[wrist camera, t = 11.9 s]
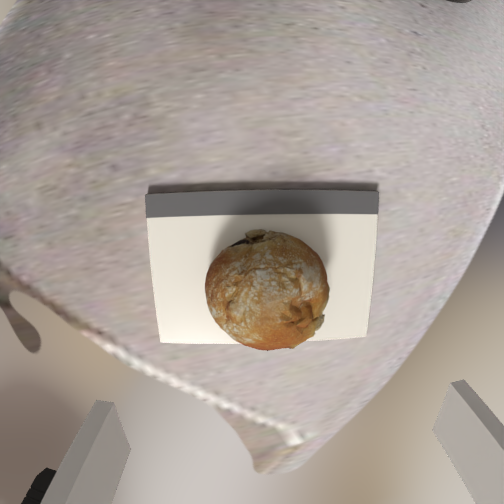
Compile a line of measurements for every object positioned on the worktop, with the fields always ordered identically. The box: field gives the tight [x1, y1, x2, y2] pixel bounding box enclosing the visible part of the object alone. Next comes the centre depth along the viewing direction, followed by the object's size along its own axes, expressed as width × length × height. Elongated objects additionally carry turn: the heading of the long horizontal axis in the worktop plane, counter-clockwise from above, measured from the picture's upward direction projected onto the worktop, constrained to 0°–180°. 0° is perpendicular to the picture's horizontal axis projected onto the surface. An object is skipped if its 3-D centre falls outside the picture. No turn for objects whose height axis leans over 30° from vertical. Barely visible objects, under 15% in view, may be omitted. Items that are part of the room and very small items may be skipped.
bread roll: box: [205, 229, 330, 351], centre depth 26 cm, size 10×10×8 cm
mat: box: [145, 190, 379, 344], centre depth 28 cm, size 20×14×1 cm
